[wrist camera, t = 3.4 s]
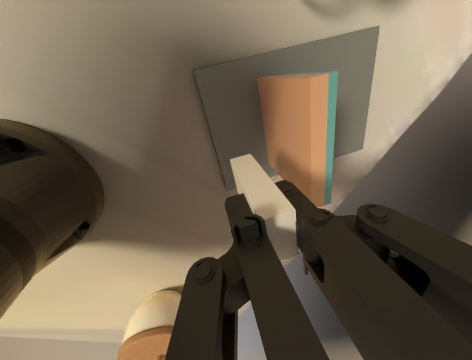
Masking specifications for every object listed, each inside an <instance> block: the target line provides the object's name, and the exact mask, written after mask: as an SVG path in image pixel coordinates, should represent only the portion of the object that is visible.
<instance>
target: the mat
mask: <svg viewBox="0 0 472 360" xmlns="http://www.w3.org/2000/svg"><path fill="white" fill-rule="evenodd" d="M378 34H379V26H375V27H371V28H367V29H363V30H359V31H355V32H351V33H346V34H342V35H338V36H334V37H330V38H326V39H322V40H317V41H313V42H309V43H305V44H301V45H297V46H293V47H288V48H284V49H280V50H276V51H272V52H268V53H264V54H259V55H255V56H251V57H247V58H243V59H239V60H235V61H230V62H226V63H222V64H218V65H214V66H210V67H205V68H201V69H197V70H193V71H194V75H195V78H196V82H197V85H198V89H199V92H200V96H201V100H202V103H203V107H204V110H205V114H206V117H207V121H208V124H209V128H210V132H211V135H212V139H213V142H214V146H215V149H216V153H217V156H218V160H219V163H220V167H221V171H222V174H223V178H224V181H225V185H226V188H227V190H228V189H231V188H235V187H236V183H235V179H234V175H233V171H232V167H231V163H230V159H233V158H237V157H240V156H244V155H247V154H251V155H252V156H253V158H254V159H255V160H256V161H257V163H258V164H259V165H260V166H261V167H262V169H263V170H264V171H265V172H266V174H267V175H268V176H269V177H271V176H274V175H278V173H277V172H276V171H275V170H274V169H273V168H272V167H271V166H270V165H269V164H268V156H267V149H266V141H265V134H264V127H263V119H262V112H261V105H260V97H259V90H258V83H257V78H260V77H264V76H268V75H272V74H288V73H306V72H325V71H338V82H337V100H336V118H335V136H334V153H333V158H334V157H338V156H341V155H344V154H348V153H351V152H354V151H358V150H361V149H363V142H364V135H365V128H366V120H367V113H368V106H369V99H370V92H371V84H372V77H373V70H374V63H375V55H376V48H377V41H378Z"/></svg>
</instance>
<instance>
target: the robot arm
mask: <svg viewBox="0 0 472 360" xmlns="http://www.w3.org/2000/svg"><path fill="white" fill-rule="evenodd" d="M230 163H231V167H232V171H233V175H234V179H235V183H236V187H237V191H238V194H239V195H235V196H232V197H229V198H227V199H226V202H225V208H226V211H227V215H228V219H229V222H230V226H231V233H232V236H233V239H234V241H233V245H232V247H231V248H230V250H229V251H228V252H227V253H226V254H224V255H223V256H221V257H220V258H218V259H215V258H213V257H206V258H203V259H200V260H198V261H197V262H195V263H194V264H193V265H192V267H191V268H190V269H189V271H188V273H187V276H186V280H185V284H184V288H183V291H182V295H181V299H180V303H179V307H178V311H177V314H176V318H175V322H174V326H173V330H172V334H171V338H170V341H169V345H168V349H167V353H166V357H165V360H237V338H238V336H237V334H238V309H240V308H241V307H242V306H243V305H244V304H246V303H247V302H248V301H249V300H251V303H252V307H253V310H254V314H255V318H256V322H257V325H258V329H259V332H260V336H261V340H262V343H263V347H264V350H265V354H266V358H267V360H329V358H328V356H327V354H326V352H325V350H324V348H323V346H322V344H321V342H320V340H319V338H318V336H317V334H316V332H315V330H314V328H313V326H312V324H311V322H310V320H309V318H308V316H307V314H306V312H305V310H304V308H303V306H302V304H301V302H300V300H299V298H298V296H297V294H296V292H295V290H294V288H293V286H292V284H291V282H290V280H289V278H288V276H287V274H286V272H285V270H284V268H283V266H282V264H281V262H280V260H283V259H286V258H289V257H292V256H294V255H297V254H298V247H299V249H300V250H301V252H302V253H303V262H304V272H305V275H307V274H308V270H309V272H310V273H311V275H312V276H313V278H314V280H315V281H316V283H317V284H318V286H319V288H320V289H321V291H322V293H323V294H324V296H325V298H326V299H327V301H328V302H329V304H330V306H331V307H332V309H333V310H334V312H335V314H336V315H337V317H338V318H339V320H340V322H341V324H342V325H343V327H344V328H345V330H346V332H347V333H348V335H349V336H350V338H351V340H352V341H353V343H354V344H355V346H356V348H357V350H358V351H359V353H360V354H361V356H362V358H363V359H364V360H472V246H471V245H469V244H466V243H464V242H462V241H460V240H458V239H456V238H453V237H451V236H449V235H447V234H445V233H442V232H440V231H438V230H436V229H434V228H432V227H429V226H427V225H425V224H423V223H421V222H418V221H416V220H414V219H412V218H410V217H408V216H405V215H403V214H401V213H399V212H397V211H395V210H392V209H390V208H388V207H385V206H382V205H376V204H368V205H363V206H361V207H360V208H359V209H358V210H357V215H349V216H348V215H347V216H335V215H334V214H333V213H331V212H330V211H328V210H325V209H319V208H317V207H316V206H315V205H314V204H313V203H312V202H311V201H310V200H309V199H308V198H307V197H306V196H305V195H304V194H303V193H302V192H301V191H300V190H299V189H298V188H297V187H296V186H295V185H294V184H293V183H291V182H289V181H287V180H283V181H280V182H276V183H274V182H273V181H272V180H271V179H270V177H269V176H268V175H267V174H266V172H265V171H264V170H263V169H262V167H261V166H260V165H259V164H258V163H257V161H256V160H255V159H254V158H253V156H252V155H251V154H247V155H244V156H240V157H237V158H233V159H230ZM103 206H104V193H103V189H102V186H101V183H100V181H99V179H98V177H97V175H96V173H95V172H94V170H93V169H92V167H91V166H90V165H89V164H88V163H87V161H86V160H85V159H84V158H83V157H82V156H81V155H79V154H78V153H77V152H76V151H75V150H74V149H72V148H71V147H70V146H68V145H67V144H65V143H64V142H62V141H61V140H59V139H57V138H55V137H53V136H52V135H50V134H48V133H45V132H43V131H41V130H39V129H36V128H34V127H31V126H28V125H25V124H21V123H17V122H13V121H9V120H3V119H0V318H1V317H2V316H3V315H4V313H5V312H6V311H7V309H8V308H9V307H10V306H11V304H12V303H13V302H14V300H15V299H16V298H17V297H18V295H19V294H20V292H21V291H22V290H23V289H24V287H25V286H26V285H27V284H28V282H29V281H30V280H31V279H32V277H33V276H34V275H35V274H36V273H38V272H39V271H41V270H42V269H43V268H45V267H46V266H47V265H49V264H50V263H52V262H53V261H54V260H56V259H57V258H58V257H60V256H61V255H63V254H64V253H65V252H67V251H68V250H69V249H71V248H72V247H74V246H75V245H76V244H78V243H79V242H80V241H82V240H83V239H84V238H85V237H86V236H87V235H88V234H89V232H90V231H91V230H92V228H93V227H94V225H95V224H96V222H97V220H98V219H99V217H100V215H101V213H102V210H103ZM391 250H393V251H395V252H396V253H398V254H399V255H397V254H394V253H392V252H390V251H391Z"/></svg>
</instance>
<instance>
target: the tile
mask: <svg viewBox="0 0 472 360" xmlns="http://www.w3.org/2000/svg"><path fill="white" fill-rule="evenodd" d="M337 82H338V71H325V72H306V73H288V74H272V75H268V76H264V77H260V78H257V83H258V90H259V97H260V105H261V112H262V119H263V127H264V134H265V141H266V149H267V156H268V164H269V165H270V166H271V167H272V168H273V169H274V170H275V171H276V172H277V173H278V174H279V175H280V176H281V178H282V179H283V180H287V181H289V182H291V183H293V184H294V185H295V186H296V187H297V188H298V189H299V190H300V191H301V192H302V193H303V194H304V195H305V196H306V197H307V198H308V199H309V200H310V201H311V202H312V203H313V204H314V205H315V206H316V207H320V206H323V205H326V204H329V203H331V189H332V171H333V153H334V136H335V118H336V100H337Z"/></svg>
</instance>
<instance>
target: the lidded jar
mask: <svg viewBox="0 0 472 360" xmlns="http://www.w3.org/2000/svg"><path fill="white" fill-rule="evenodd" d="M180 299H181V294H180V293H179V292H177V291H173V290H162V291H158V292H155V293H153V294H152V295H150V296H149V297H148V299H147V300H145V301H144V302H143V303H142V304H141V305H140V306H139V307H138V308H137V309H136V311H135V312H134V313H133V315H132V317H131V319H130V321H129V323H128V325H127V328H126V331H125V333H124V337H123V340H122V344H121V347H120V349H119V352H118V356H117V360H165V357H166V353H167V349H168V345H169V341H170V338H171V334H172V330H173V326H174V322H175V318H176V314H177V311H178V307H179V303H180Z"/></svg>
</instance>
